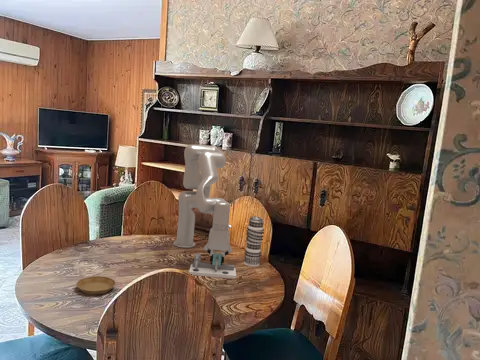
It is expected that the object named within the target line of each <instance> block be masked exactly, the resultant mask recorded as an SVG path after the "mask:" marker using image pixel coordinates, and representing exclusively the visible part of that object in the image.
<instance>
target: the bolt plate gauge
mask: <svg viewBox="0 0 480 360" xmlns="http://www.w3.org/2000/svg"><path fill="white" fill-rule="evenodd" d="M193 258H194V259H193V261H192V263H191V264H190V268H189V269H188V274H189V273H190V274H192V275H191V276H197V277H198V276H199V277H211V278H219V279H221V278H223V279H233V280H236V277H237V272H236V271H237V270H236V269H237V268H235V265H234V264H224V263H222V265H221V266H220V265H218V266H217V271H215V265H212V264H211V262H204V261H203V262H201V260H202V253H194V256H193Z"/></svg>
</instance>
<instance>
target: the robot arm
mask: <svg viewBox="0 0 480 360" xmlns="http://www.w3.org/2000/svg"><path fill="white" fill-rule="evenodd" d="M183 152H184V153H183V155H184V157H183V158H184V163H185V164H184V172H183V173H184V174H183V182H182V184H183V187H184V188H185V189H187V190H185V191H181V192H180V193H179V194H178V198H177V199H178V218H177V219H178V220H177V232H176V240H174V241H173V245H174V247H177V248H180V249H181V248H183V249H184V248H186V249H192V248H194V247H195V246H196V242H195V241H194V235H195V226H196V225H195V222H196V214H195V212H194V210H193V208H195V209H197V208H198V211H199V212H200V213H202V214H213V217H212V227H211V228H210V230H209V234H208V239H207V243H205V245H204V246H203V250H204V251H205V252H207V253H208V255H209V257H210V258H209V263H211V264H212V263H213V253H214V252H215V251H217V252H218V251H221V253H222V257H221V265H222V264H224V263H225V257H226V256H227V255H228V254H231V253H232V252H233V248H232V247H231V244H230V234H231V233H230V229H231V228H232V225H230V224H229V220H230V213H231V203H230V202H228V201H226V200H225V199H224V198H222V197H210V195H211V186H212V185H213V184H215V183H216V182H218V181H219V178H220V177H219V173H218V169H223V168H224V167H225V166H226V162H227V160H226V159H227V158H226V156H225V154H224V152H223V151H221V150H220V149H219V148H217V146H214V145H207V144H206V145H205V144H188V145H187V146H186V147H185V149H184V151H183Z"/></svg>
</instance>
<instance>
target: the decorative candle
mask: <svg viewBox="0 0 480 360" xmlns="http://www.w3.org/2000/svg"><path fill="white" fill-rule="evenodd" d="M248 220H249V221H248V226H247V227H246V239H245V242H246V246H245V250H244V259H243V264H244V265H245V266H247V267H248V266H249V267H259V266H260V265H261V264H260V263H261V254H262V251H261V249H262V248H261V247H262V244H263V242H262V241H263V238H264V234H265V232H264V231H265V228H264V222H265V220H263V218H262V217H261V216H251V217H250V218H249V219H248Z"/></svg>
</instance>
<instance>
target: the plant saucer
mask: <svg viewBox="0 0 480 360" xmlns="http://www.w3.org/2000/svg"><path fill="white" fill-rule="evenodd" d="M115 286H116V280H115V279H113V278H111V277H108V276H100V275H99V276H98V275H95V276H87V277H83V278H81V279H80V280H78V281H77V282H76V288H78V289H79V290H80V292H82V293H83V294H87V295H96V296H97V295H102V294H105V293H108V292H110V290H113V288H114V287H115Z"/></svg>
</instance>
